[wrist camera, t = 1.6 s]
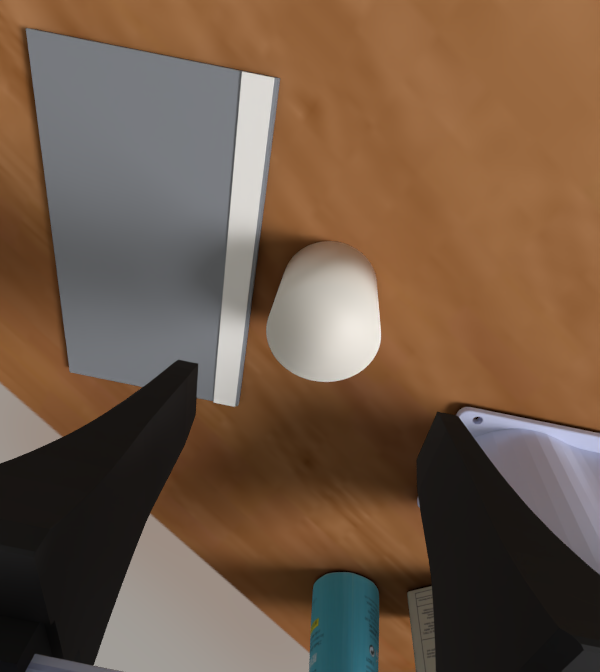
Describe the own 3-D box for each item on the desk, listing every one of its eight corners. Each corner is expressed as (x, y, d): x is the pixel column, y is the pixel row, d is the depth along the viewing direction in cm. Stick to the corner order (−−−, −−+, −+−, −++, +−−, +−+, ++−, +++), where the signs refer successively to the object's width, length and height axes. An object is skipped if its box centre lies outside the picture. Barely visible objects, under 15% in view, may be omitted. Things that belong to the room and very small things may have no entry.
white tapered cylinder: (387, 251, 20) (394, 296, 16) (364, 334, 22) (365, 391, 19) (290, 232, 20) (274, 272, 16) (276, 317, 22) (259, 369, 19)
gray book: (280, 78, 17) (278, 78, 17) (239, 401, 25) (237, 407, 25) (32, 29, 17) (23, 28, 17) (73, 367, 26) (68, 373, 25)
